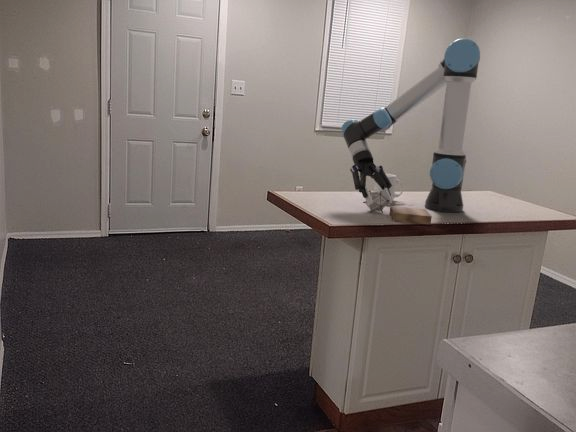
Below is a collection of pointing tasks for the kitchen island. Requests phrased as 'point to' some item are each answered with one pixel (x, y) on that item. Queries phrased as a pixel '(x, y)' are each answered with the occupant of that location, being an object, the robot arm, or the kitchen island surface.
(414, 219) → the pedestal
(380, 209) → the game die
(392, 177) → the mug
